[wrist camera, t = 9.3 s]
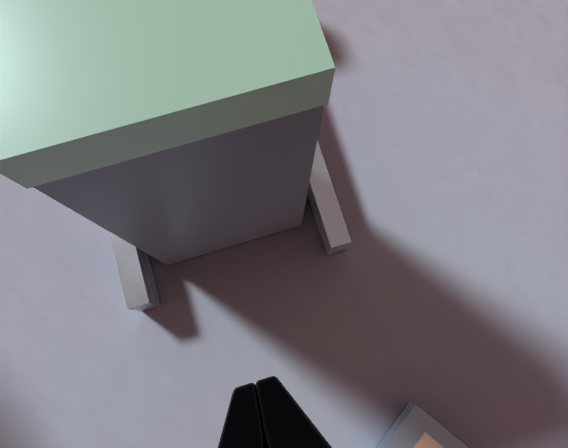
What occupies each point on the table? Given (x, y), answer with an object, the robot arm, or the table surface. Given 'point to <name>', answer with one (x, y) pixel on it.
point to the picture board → (418, 431)
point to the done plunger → (165, 114)
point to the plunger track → (326, 214)
